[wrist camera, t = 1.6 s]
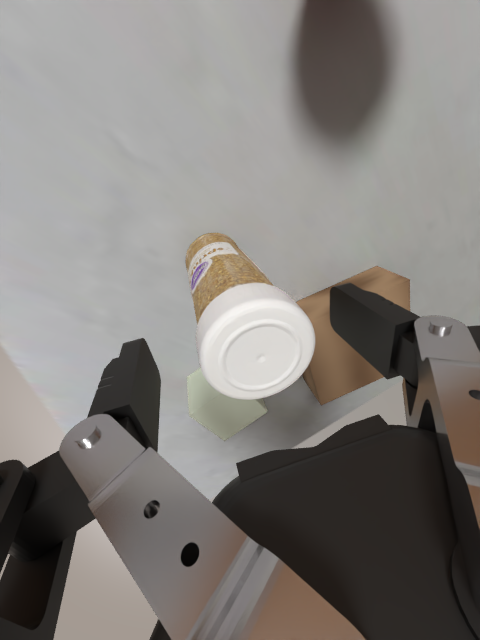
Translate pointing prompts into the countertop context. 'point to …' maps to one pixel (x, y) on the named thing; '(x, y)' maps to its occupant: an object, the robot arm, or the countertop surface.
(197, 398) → the sage cube
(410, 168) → the countertop surface
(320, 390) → the walnut block
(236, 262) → the sprinkles bottle
